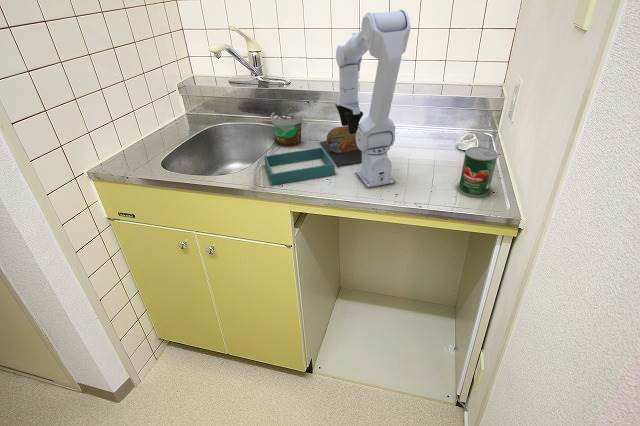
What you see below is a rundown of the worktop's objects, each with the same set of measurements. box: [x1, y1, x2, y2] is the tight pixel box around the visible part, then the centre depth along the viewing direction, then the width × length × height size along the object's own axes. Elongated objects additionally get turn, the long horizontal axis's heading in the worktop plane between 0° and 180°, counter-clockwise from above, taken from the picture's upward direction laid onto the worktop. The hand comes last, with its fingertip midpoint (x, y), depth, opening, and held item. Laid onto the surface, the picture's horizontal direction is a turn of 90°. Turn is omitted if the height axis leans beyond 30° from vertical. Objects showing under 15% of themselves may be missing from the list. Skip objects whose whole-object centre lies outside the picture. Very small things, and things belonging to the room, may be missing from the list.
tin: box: [325, 123, 360, 153], centre depth 126 cm, size 15×3×8 cm, turn 105°
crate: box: [264, 146, 336, 186], centre depth 117 cm, size 13×19×4 cm
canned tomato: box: [458, 146, 499, 198], centre depth 101 cm, size 8×8×11 cm
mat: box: [320, 140, 362, 168], centre depth 129 cm, size 20×16×1 cm
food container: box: [270, 111, 304, 147], centre depth 133 cm, size 12×6×10 cm, turn 62°
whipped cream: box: [457, 133, 480, 151], centre depth 125 cm, size 8×7×5 cm
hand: (348, 129), depth 124 cm, fingers open, 7 cm apart
